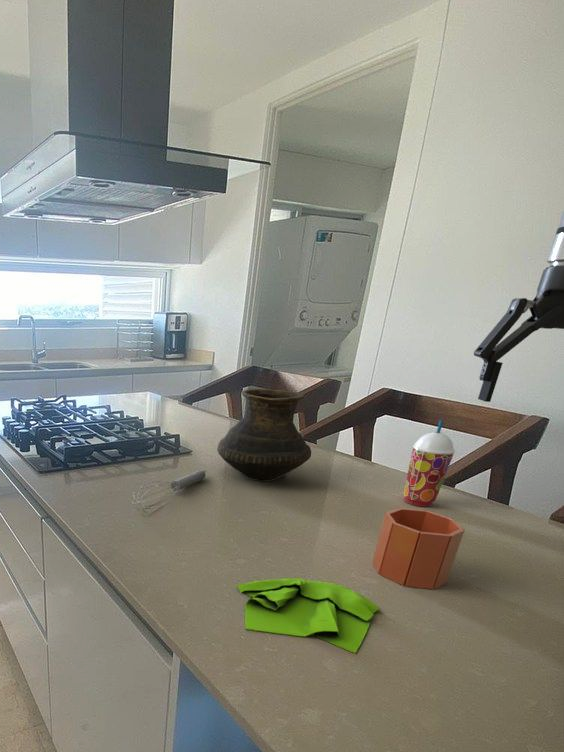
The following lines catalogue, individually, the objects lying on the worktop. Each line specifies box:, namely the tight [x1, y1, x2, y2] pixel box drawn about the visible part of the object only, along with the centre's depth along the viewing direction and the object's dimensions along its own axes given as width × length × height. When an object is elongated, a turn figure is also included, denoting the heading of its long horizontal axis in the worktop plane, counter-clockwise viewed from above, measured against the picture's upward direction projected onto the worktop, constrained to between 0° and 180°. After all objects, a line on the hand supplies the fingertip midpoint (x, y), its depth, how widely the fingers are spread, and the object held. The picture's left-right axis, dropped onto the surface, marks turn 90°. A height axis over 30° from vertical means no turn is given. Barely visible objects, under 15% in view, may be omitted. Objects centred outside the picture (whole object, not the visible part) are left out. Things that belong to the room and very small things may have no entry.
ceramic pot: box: [216, 388, 312, 482], centre depth 130 cm, size 24×24×22 cm
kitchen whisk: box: [132, 469, 207, 513], centre depth 119 cm, size 6×34×6 cm, turn 145°
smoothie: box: [402, 419, 456, 508], centre depth 114 cm, size 8×8×20 cm
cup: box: [372, 507, 465, 590], centre depth 85 cm, size 10×11×11 cm
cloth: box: [236, 577, 380, 654], centre depth 75 cm, size 20×22×2 cm
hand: (527, 402), depth 85 cm, fingers open, 13 cm apart
